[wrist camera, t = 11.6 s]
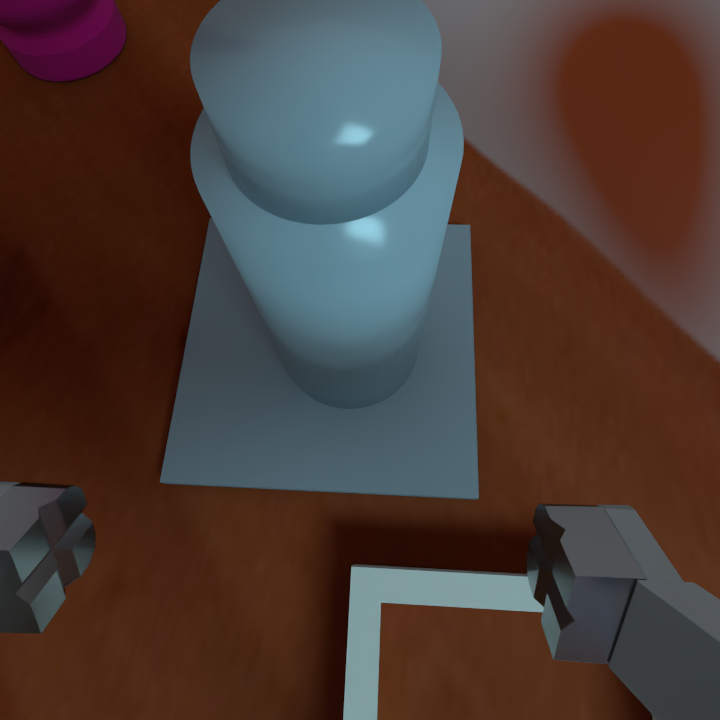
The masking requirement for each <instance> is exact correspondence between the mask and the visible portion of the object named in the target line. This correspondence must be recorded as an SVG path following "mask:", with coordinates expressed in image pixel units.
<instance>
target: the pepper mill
mask: <svg viewBox="0 0 720 720" xmlns="http://www.w3.org/2000/svg"><path fill="white" fill-rule="evenodd" d="M0 39H1V41H2V42H3V43H4V45H5V46H6V47H7V49H8V50H9V51H10V53H11V54H12V55H13V57H14V58H15V59H16V61H17V62H18V63H19V65H20V66H21V67H22V68H23V69H24V70H25V71H26V72H28V73H29V74H31V75H33V76H35V77H37V78H39V79H41V80H48V81H54V82H64V81H73V80H77V79H81V78H84V77H88V76H90V75H92V74H94V73H97V72H99V71H100V70H102V69H103V68H105V67H106V66H108V65H109V64H110V63H111V62H112V61H113V60H114V59H115V58H116V57H117V56H118V54H119V53H120V52H121V50H122V48H123V46H124V43H125V41H126V25H125V22H124V20H123V18H122V16H121V14H120V12H119V10H118V8H117V6H116V3H115V1H114V0H0Z"/></svg>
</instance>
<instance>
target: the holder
mask: <svg viewBox="0 0 720 720" xmlns="http://www.w3.org/2000/svg"><path fill="white" fill-rule="evenodd" d="M381 602H383V603H399V604H416V605H432V606H449V607H465V608H482V609H498V610H515V611H531V612H543V610H544V607H543V606H542V605H541V604H540V603H539V602H538V601H536V600H535V599H534V598H533V595H532V592H531V588H530V585H529V580H528V575H527V574H518V573H501V572H483V571H466V570H448V569H431V568H413V567H396V566H378V565H361V564H353V565H352V566H351V582H350V601H349V619H348V638H347V657H346V675H345V694H344V713H343V720H377V703H378V673H379V643H380V613H381ZM652 719H653V720H657V719H656V718H655V717H654V716H653V715H652Z"/></svg>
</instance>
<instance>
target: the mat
mask: <svg viewBox="0 0 720 720" xmlns="http://www.w3.org/2000/svg"><path fill="white" fill-rule="evenodd" d="M160 482H161V483H165V484H183V485H203V486H222V487H242V488H262V489H281V490H301V491H320V492H340V493H360V494H379V495H399V496H419V497H438V498H458V499H478V498H479V490H478V458H477V427H476V395H475V364H474V332H473V301H472V269H471V238H470V225H451V224H447V228H446V232H445V236H444V241H443V245H442V249H441V254H440V258H439V262H438V267H437V271H436V276H435V280H434V284H433V289H432V293H431V297H430V302H429V306H428V310H427V315H426V319H425V324H424V328H423V332H422V337H421V341H420V345H419V350H418V354H417V358H416V363H415V365H414V368H413V370H412V372H411V374H410V376H409V378H408V379H407V380H406V382H405V383H404V384H403V385H402V387H401V388H400V389H399V390H398V391H396V392H395V393H394V394H393V395H391V396H390V397H388V398H387V399H385V400H383V401H381V402H379V403H377V404H374V405H371V406H368V407H363V408H357V409H343V408H336V407H332V406H328V405H325V404H323V403H320V402H318V401H316V400H314V399H313V398H311V397H310V396H308V395H307V394H306V393H304V392H303V391H302V390H301V389H300V388H299V387H298V385H297V384H296V383H295V382H294V380H293V379H292V377H291V375H290V373H289V371H288V369H287V367H286V365H285V363H284V361H283V359H282V357H281V355H280V353H279V351H278V349H277V347H276V345H275V343H274V341H273V339H272V337H271V335H270V333H269V331H268V329H267V327H266V325H265V323H264V321H263V319H262V317H261V315H260V313H259V311H258V309H257V307H256V305H255V303H254V301H253V299H252V297H251V295H250V293H249V291H248V289H247V287H246V285H245V283H244V281H243V279H242V277H241V275H240V273H239V271H238V269H237V267H236V265H235V263H234V261H233V259H232V257H231V255H230V253H229V251H228V249H227V247H226V245H225V243H224V241H223V239H222V237H221V235H220V233H219V231H218V229H217V227H216V225H215V223H214V221H213V219H212V218H210V220H209V225H208V230H207V236H206V241H205V246H204V252H203V257H202V262H201V267H200V273H199V278H198V283H197V288H196V294H195V299H194V304H193V309H192V315H191V320H190V325H189V330H188V336H187V341H186V346H185V351H184V357H183V362H182V367H181V373H180V378H179V383H178V388H177V394H176V399H175V404H174V409H173V415H172V420H171V425H170V430H169V436H168V441H167V446H166V451H165V457H164V462H163V467H162V473H161V478H160Z"/></svg>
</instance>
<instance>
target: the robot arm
mask: <svg viewBox="0 0 720 720" xmlns="http://www.w3.org/2000/svg"><path fill="white" fill-rule="evenodd" d="M86 505H87V502H86V499H85V496H84V493H83V490H82V489H81V488H79V487H77V486H74V485H60V484H44V483H28V482H22V483H18V482H4V481H0V633H42V632H43V630H44V629H45V627H46V626H47V624H48V623H49V622H50V620H51V619H52V617H53V616H54V614H55V613H56V612H57V610H58V609H59V607H60V606H61V604H62V603H63V602H64V600H65V599H66V596H65V586H67V585H69V584H70V583H72V582H73V581H75V580H76V579H78V578H79V577H81V576H82V574H83V573H84V571H85V569H86V568H87V566H88V565H89V563H90V561H91V558H92V555H93V552H94V549H95V530H94V526H93V523H92V522H91V521H90V520H89V519H88V518H87V517H86V516H85V515H84V514H83V513H82V511H83V509H84V508H85V506H86ZM533 523H534V526H535V528H536V531H537V534H536V535H535V536H534V537H533V538H532V539H531V540H529V544H528V550H527V575H528V580H529V585H530V588H531V592H532V595H533V598H534V599H535V600H536V601H538V602H539V603H540V604H541V605H542V606H543V607H544V610H543V614H542V619H541V623H542V626H543V629H544V632H545V635H546V638H547V641H548V644H549V647H550V650H551V653H552V656H553V659H554V660H565V661H578V662H590V663H603V664H609V666H608V667H609V668H610V669H611V670H612V671H613V672H614V673H615V675H616V676H617V677H618V678H619V679H620V680H621V681H622V682H623V683H624V684H625V685H626V687H627V688H628V689H629V690H630V691H631V692H632V693H633V694H634V695H635V696H636V697H637V698H638V700H639V701H640V702H641V703H642V704H643V705H644V706H645V707H646V708H647V709H648V710H649V711H650V713H651V714H652V715H653V716H654V717H655V718H656V719H657V720H720V600H719V599H718V598H716V597H715V596H713V595H712V594H710V593H709V592H707V591H706V590H704V589H703V588H701V587H700V586H698V585H697V584H695V583H690V582H684V581H683V580H682V578H681V577H680V575H679V574H678V572H677V571H676V570H675V568H674V567H673V565H672V564H671V562H670V561H669V559H668V558H667V556H666V555H665V553H664V552H663V550H662V549H661V548H660V546H659V545H658V543H657V542H656V540H655V539H654V537H653V536H652V534H651V533H650V531H649V530H648V528H647V527H646V526H645V524H644V523H643V521H642V520H641V518H640V517H639V515H638V514H637V512H636V511H635V510H634V509H633V508H632V507H630V506H629V505H598V506H595V505H569V504H538V506H537V508H536V510H535V514H534V519H533Z"/></svg>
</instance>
